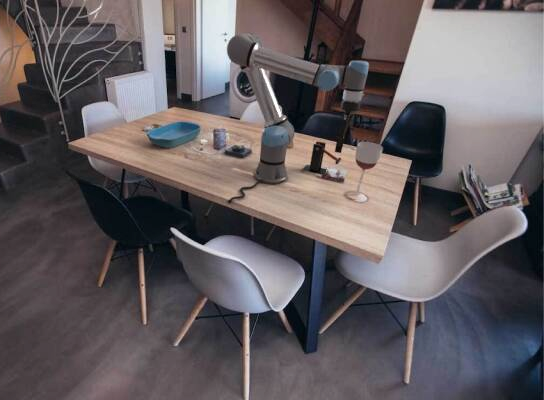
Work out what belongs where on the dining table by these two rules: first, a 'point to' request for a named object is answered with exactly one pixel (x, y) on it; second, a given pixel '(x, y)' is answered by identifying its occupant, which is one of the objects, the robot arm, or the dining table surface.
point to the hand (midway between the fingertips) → (341, 147)
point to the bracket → (316, 159)
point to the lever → (331, 155)
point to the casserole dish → (174, 134)
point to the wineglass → (366, 161)
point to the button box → (238, 151)
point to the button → (238, 145)
